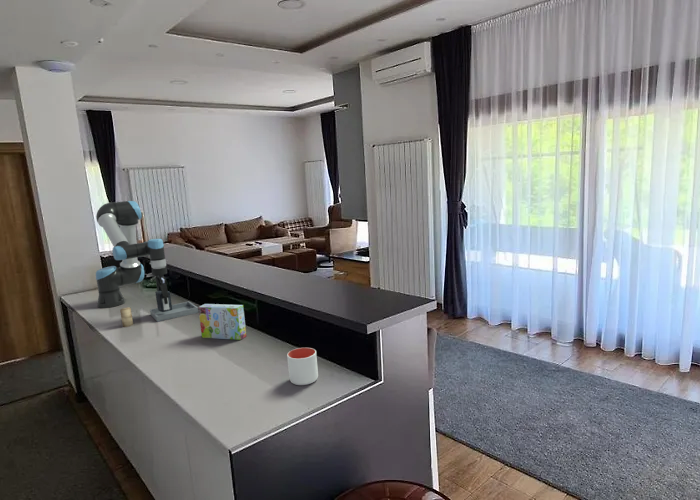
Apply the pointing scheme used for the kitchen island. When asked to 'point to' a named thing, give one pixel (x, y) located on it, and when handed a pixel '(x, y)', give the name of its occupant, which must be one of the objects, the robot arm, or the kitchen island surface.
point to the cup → (302, 366)
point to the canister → (126, 317)
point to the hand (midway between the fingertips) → (164, 307)
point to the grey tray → (174, 311)
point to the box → (160, 301)
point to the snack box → (222, 321)
